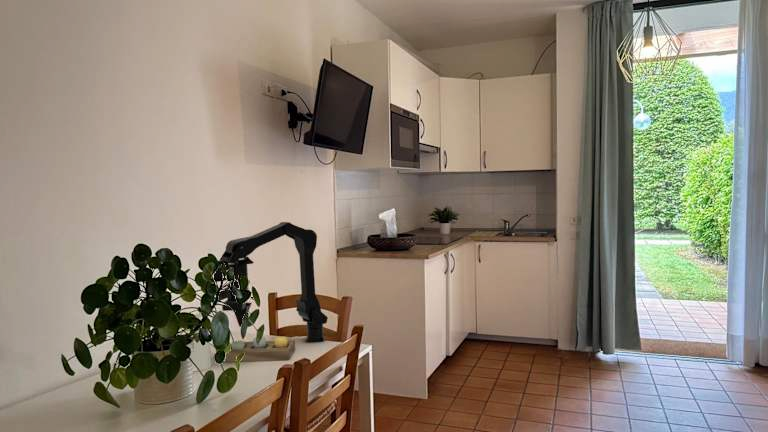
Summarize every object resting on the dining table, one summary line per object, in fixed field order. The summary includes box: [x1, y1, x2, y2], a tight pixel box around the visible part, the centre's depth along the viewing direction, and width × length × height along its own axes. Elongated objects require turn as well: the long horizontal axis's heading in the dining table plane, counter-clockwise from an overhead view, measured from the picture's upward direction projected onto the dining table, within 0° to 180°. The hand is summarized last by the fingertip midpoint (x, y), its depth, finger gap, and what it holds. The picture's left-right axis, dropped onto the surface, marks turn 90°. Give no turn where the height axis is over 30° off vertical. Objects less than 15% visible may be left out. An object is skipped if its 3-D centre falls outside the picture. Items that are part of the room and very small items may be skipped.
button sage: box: [231, 340, 245, 349], centre depth 175 cm, size 4×4×4 cm
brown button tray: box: [224, 339, 296, 363], centre depth 175 cm, size 12×21×3 cm, turn 90°
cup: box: [192, 312, 212, 372], centre depth 164 cm, size 8×8×16 cm
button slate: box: [252, 337, 267, 349], centre depth 175 cm, size 4×4×4 cm
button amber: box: [274, 335, 288, 348], centre depth 175 cm, size 4×4×4 cm
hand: (241, 326), depth 174 cm, fingers closed
